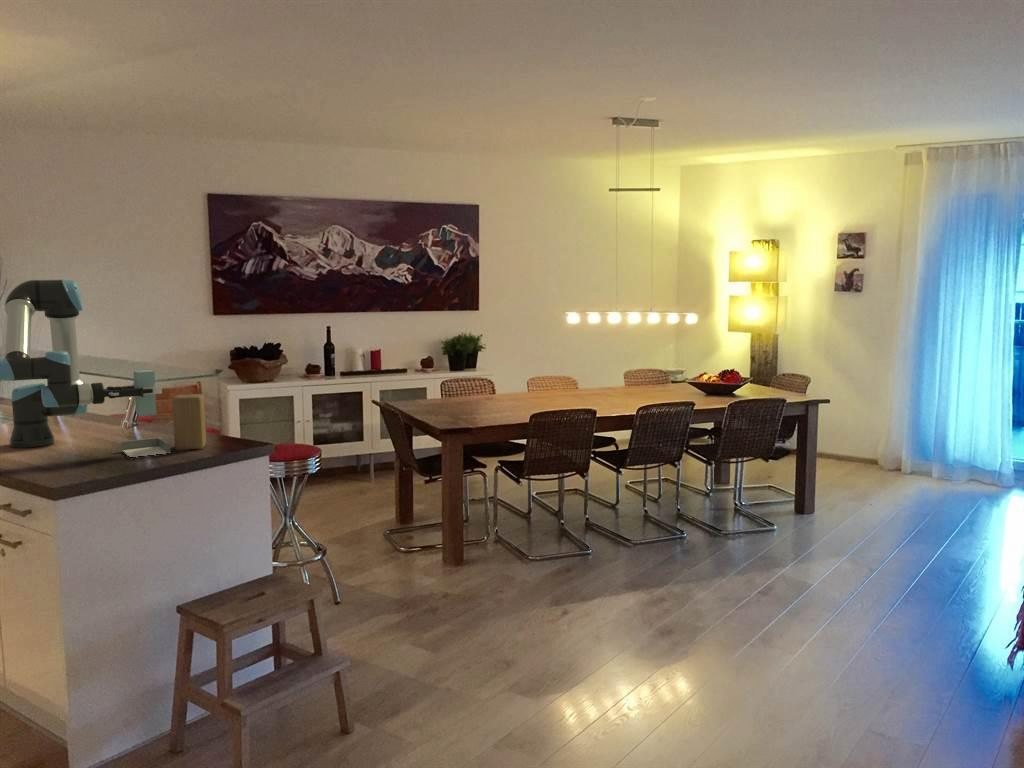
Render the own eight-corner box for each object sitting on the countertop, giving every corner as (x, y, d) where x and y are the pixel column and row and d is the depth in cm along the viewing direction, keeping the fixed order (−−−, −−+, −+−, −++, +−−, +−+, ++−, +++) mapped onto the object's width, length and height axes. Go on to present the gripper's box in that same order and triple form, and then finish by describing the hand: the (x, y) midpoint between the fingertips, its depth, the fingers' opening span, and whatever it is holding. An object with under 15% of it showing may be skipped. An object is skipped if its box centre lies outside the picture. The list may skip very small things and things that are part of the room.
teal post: (135, 413, 316) (133, 371, 314) (153, 412, 320) (150, 370, 318) (139, 416, 311) (136, 372, 309) (156, 414, 315) (154, 371, 313)
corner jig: (122, 451, 318) (121, 441, 317) (161, 447, 326) (161, 437, 325) (129, 458, 306) (128, 447, 306) (170, 453, 314) (169, 442, 314)
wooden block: (174, 450, 319) (171, 397, 317) (179, 445, 329) (176, 394, 326) (202, 449, 321) (200, 397, 319) (206, 444, 331) (204, 393, 328)
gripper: (87, 401, 313) (154, 396, 326) (96, 407, 297) (166, 401, 310) (86, 380, 312) (153, 376, 325) (94, 386, 296) (165, 381, 309)
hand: (159, 388), depth 317 cm, fingers closed on teal post, 6 cm apart
